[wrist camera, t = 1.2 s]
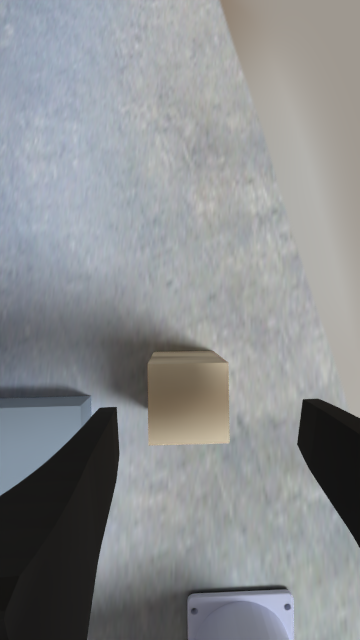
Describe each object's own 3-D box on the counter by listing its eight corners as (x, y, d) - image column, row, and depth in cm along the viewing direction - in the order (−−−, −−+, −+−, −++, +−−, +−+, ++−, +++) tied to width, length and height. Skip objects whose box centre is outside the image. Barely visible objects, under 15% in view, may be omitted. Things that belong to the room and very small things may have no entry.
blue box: (94, 524, 22) (83, 556, 19) (-39, 529, 22) (-72, 563, 19) (92, 394, 22) (80, 405, 19) (-41, 398, 22) (-75, 410, 19)
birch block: (213, 409, 22) (229, 443, 16) (154, 410, 22) (148, 445, 16) (212, 350, 22) (228, 362, 16) (153, 351, 22) (147, 364, 16)
